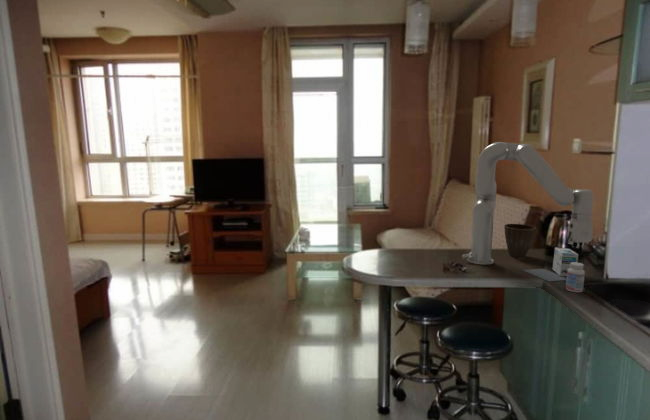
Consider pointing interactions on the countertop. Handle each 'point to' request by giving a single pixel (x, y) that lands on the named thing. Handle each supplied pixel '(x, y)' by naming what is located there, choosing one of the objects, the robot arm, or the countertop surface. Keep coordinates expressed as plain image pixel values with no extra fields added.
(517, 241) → the plant pot
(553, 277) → the mat
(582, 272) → the pill bottle
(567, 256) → the light bulb box
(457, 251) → the countertop surface
